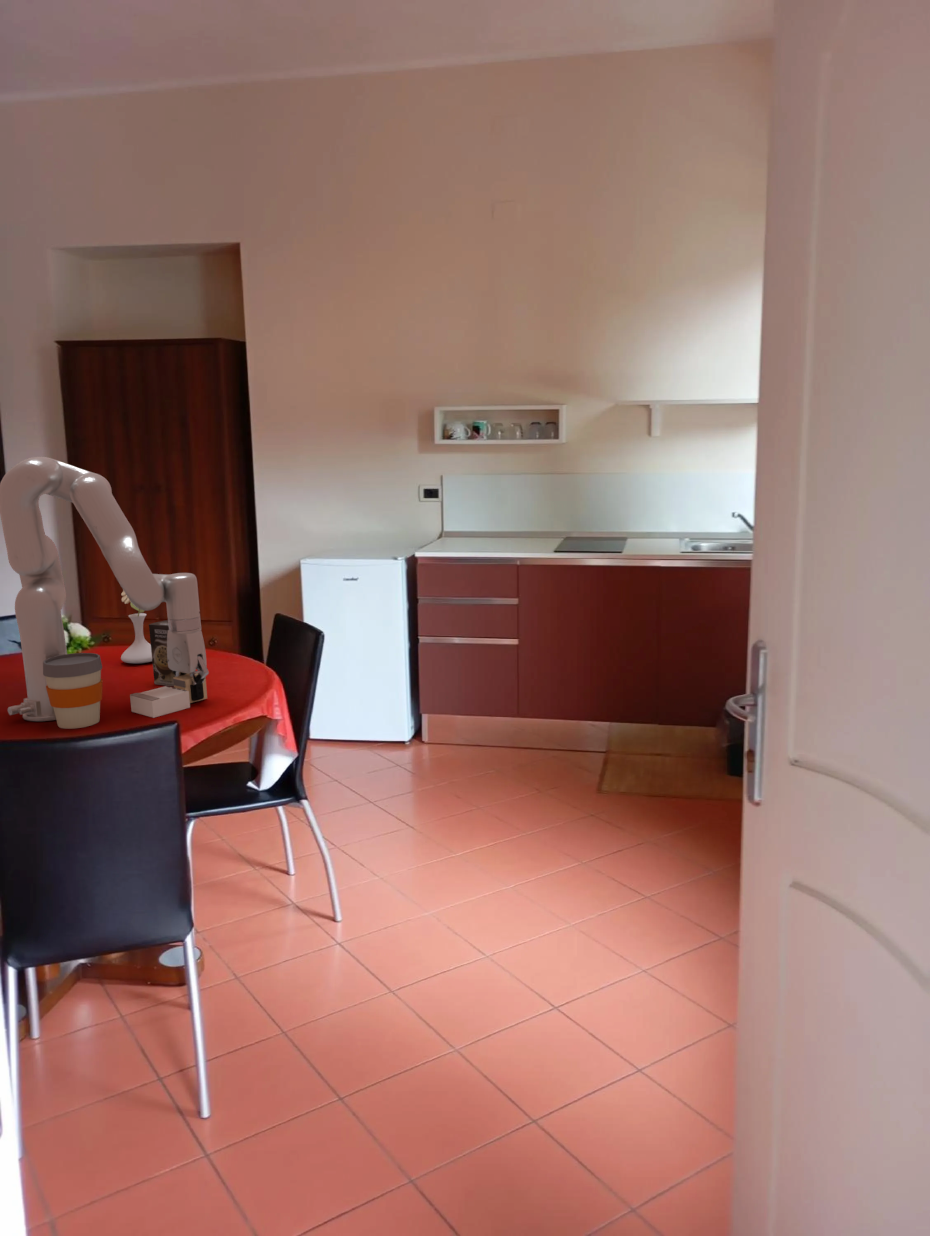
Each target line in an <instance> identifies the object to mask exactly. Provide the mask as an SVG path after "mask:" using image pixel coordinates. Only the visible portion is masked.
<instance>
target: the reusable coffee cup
mask: <svg viewBox="0 0 930 1236" xmlns="http://www.w3.org/2000/svg"><path fill="white" fill-rule="evenodd" d="M102 670H103V664H102V660H101V655H100V654H98V653H93V652H77V653H67V654H65V655H59V656H55V657H51V658H48V659H46V660H44V661H43V675H44V676H45V678H46V682H47V686H46V689H47V693H48V697H49V701H50V705H51V706H52V707H53V708H54V712H55V716H56V720H55V721H56V724H57V726H58V727H59V728H60V729H69V730H70V729H72V730H73V729H80V728H87V727H89V726H94V725H96V724H98V723H99V722H100V719H101V718H100V715H101V714H100V713H101V701H102V700H103V679H102V678H101V677H102Z"/></svg>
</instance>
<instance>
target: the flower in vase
mask: <svg viewBox="0 0 930 1236" xmlns="http://www.w3.org/2000/svg"><path fill="white" fill-rule="evenodd" d="M120 595H121V596H122V597H121V602H122V603H124V604H125V605H126V604H127V605H128V604H129V603H130V607H131V608H132V609H134V610H136V611H138V612H137V613H133V614H129V615H127V616H128V618H129V619H130V620H131V622H132V623H133V624H132V625H133V629H134V636H135V637H134V641H133V642H132V644H131V645H130V646H128V648H127V649H126V650H124V652H122V654H121V657H120V660H121V661H122V662H124V663H127V664H137V665H138V664H146V663H151V662H152V652H151V642H150V643H149V642H148V641H147V640H146V639H145V635H144V621H145V618H146V616H147V613H144V612H145V610H141V609H138V608H137V607H135V606H134V605H133V604H132V603H131V601H130V600H129V598H128V597H127V595H126V593H125V592H124V590H123V589H122V592H121V594H120Z"/></svg>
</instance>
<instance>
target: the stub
mask: <svg viewBox="0 0 930 1236" xmlns="http://www.w3.org/2000/svg"><path fill="white" fill-rule="evenodd" d="M197 675H198V673H197V674H195V678H196V676H197ZM206 677H207V676H206ZM206 677H205V679H204V683H203V692H204V698H203V699H200V700H196V701H192V698H191V687H190V685H192V682H191V678H190V674H185V675H181V676H177V677H173V682H174V686H173V687H174V688H177V689H182V690H187V691H189V700H190V704H193V703H195V702H200V701H203V700H206V699H208V690H207V678H206Z"/></svg>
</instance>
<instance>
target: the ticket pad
mask: <svg viewBox="0 0 930 1236" xmlns="http://www.w3.org/2000/svg"><path fill="white" fill-rule="evenodd" d="M129 698H130V708H131V709H130V710H131V712H132V713H136V714H139V715H143V716H146V717H149V718H153V719H154V718H157V717H160V716H161V717H162V716H165V715H168V714H172V713H175V712H179V711H183V710H185V709H190V708H191V703H190V700H189V691H187V690H182V689H177V688H174V686H166V685H163V686H161V687H158V688H154V689H153V688H152V689H150V690H146V691H142V692H134V693H131V694H129Z"/></svg>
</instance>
